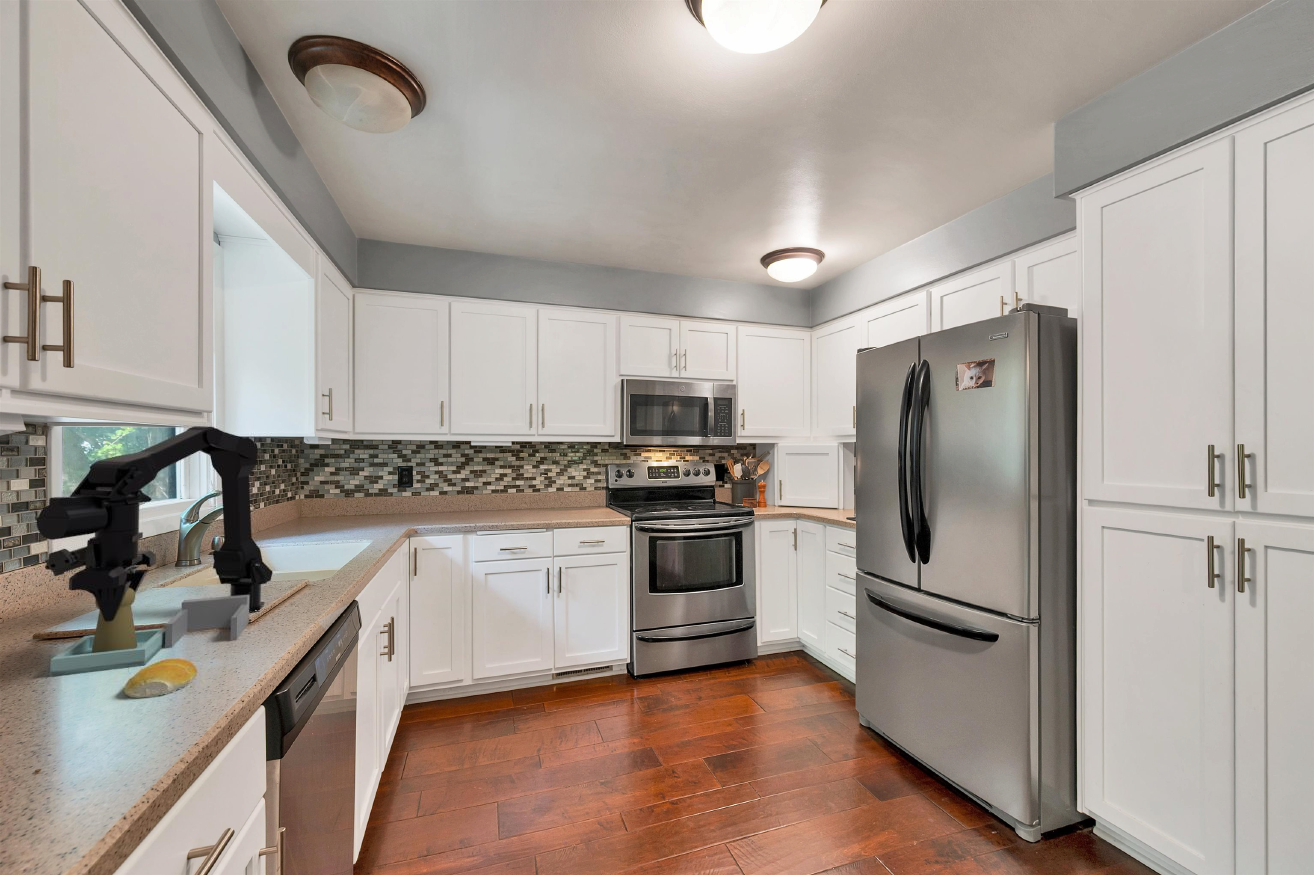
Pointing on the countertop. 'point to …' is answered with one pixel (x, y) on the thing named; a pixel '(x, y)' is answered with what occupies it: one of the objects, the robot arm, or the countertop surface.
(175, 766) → the countertop surface
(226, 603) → the bay
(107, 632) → the cork
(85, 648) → the tray
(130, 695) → the bread roll
